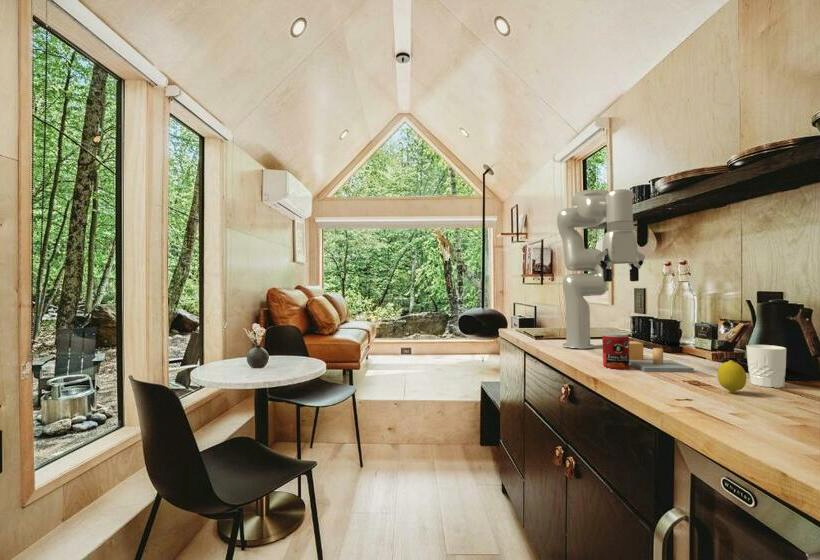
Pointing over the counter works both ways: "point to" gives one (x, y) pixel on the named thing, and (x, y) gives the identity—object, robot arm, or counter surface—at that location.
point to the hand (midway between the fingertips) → (621, 281)
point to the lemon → (731, 376)
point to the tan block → (635, 350)
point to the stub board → (659, 364)
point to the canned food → (615, 350)
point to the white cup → (766, 365)
